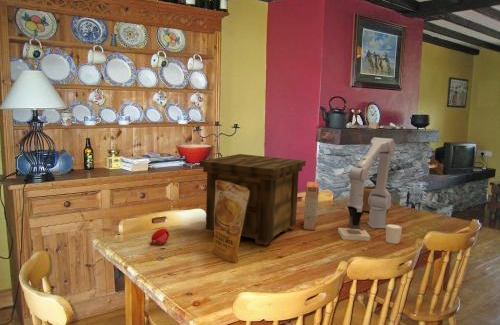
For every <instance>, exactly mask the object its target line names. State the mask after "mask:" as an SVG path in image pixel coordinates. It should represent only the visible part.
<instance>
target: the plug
mask: <svg viewBox="0 0 500 325" xmlns="http://www.w3.org/2000/svg"><path fill="white" fill-rule="evenodd" d="M361 218H362V217H361ZM361 218H360V221H359V224H358V226H357V225H353V220H352V216H350V215H349V220H348V228H350V229H360V228H361V221H362V220H361Z"/></svg>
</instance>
